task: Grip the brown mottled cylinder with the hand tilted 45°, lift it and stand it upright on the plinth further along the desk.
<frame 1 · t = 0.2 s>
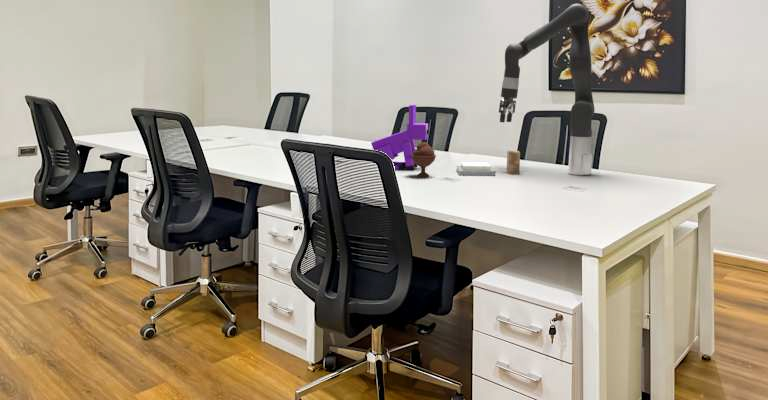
hand: (505, 122, 302), 22 cm above the table, tool pointing down, fingers open, 8 cm apart
ice cream bowl: (423, 176, 283), on the table
brown mottled cylinder: (512, 173, 292), on the table
plinth: (475, 172, 292), on the table
toy: (399, 168, 307), on the table
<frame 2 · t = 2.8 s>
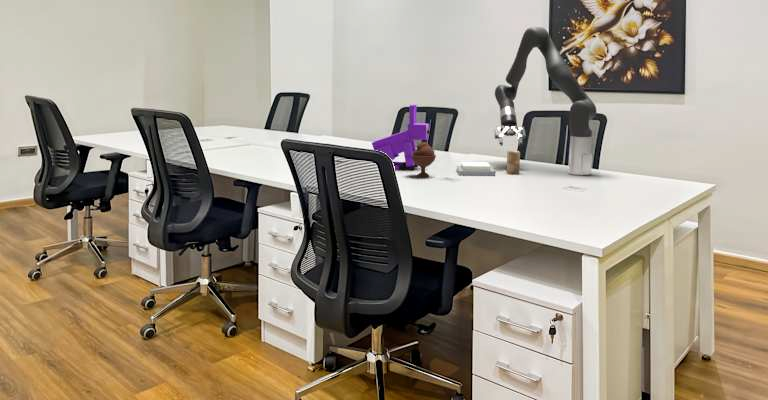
hand: (511, 144, 298), 12 cm above the table, tool tilted 45°, fingers open, 8 cm apart
nothing on the table moved.
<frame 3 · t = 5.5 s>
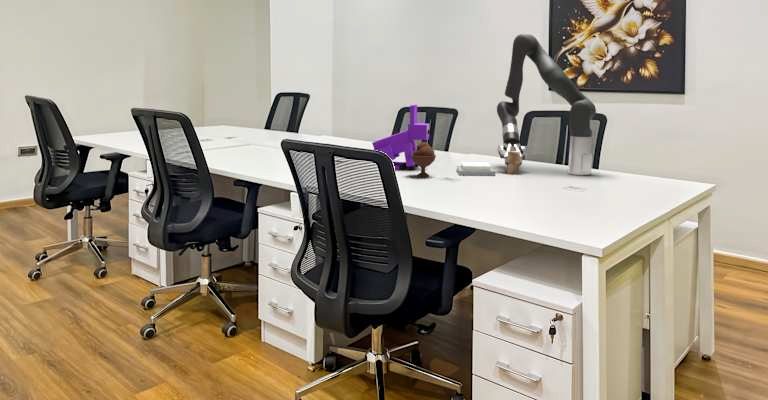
hand: (513, 164, 290), 4 cm above the table, tool tilted 45°, fingers closed on brown mottled cylinder, 5 cm apart
brown mottled cylinder: (512, 173, 292), on the table, touching gripper
everything else where it was.
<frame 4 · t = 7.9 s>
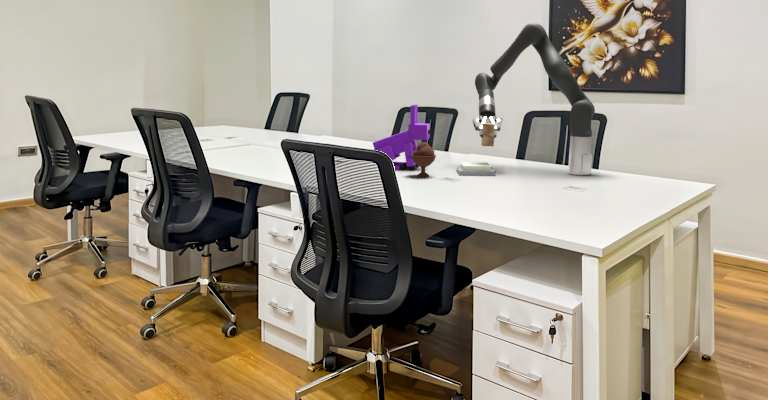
hand: (488, 136, 288), 17 cm above the table, tool tilted 45°, fingers closed on brown mottled cylinder, 5 cm apart
brown mottled cylinder: (487, 145, 291), point 13 cm above the table, touching gripper
everything else where it was.
when the fingers open (10 cm above the table, at t = 10.3 s): brown mottled cylinder drops 1 cm, resting on plinth.
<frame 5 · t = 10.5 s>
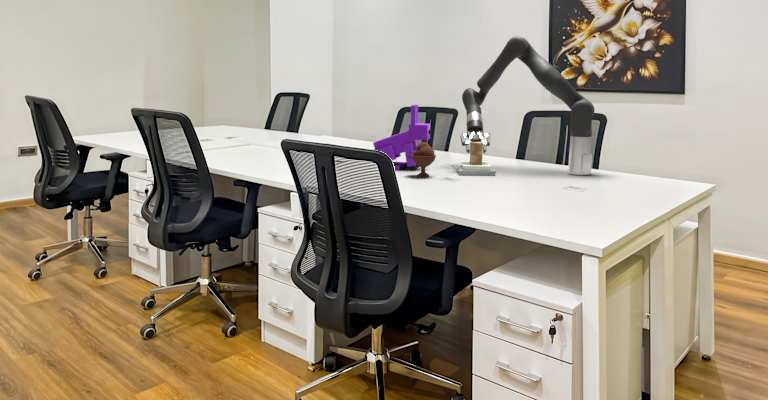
hand: (476, 151, 289), 10 cm above the table, tool tilted 45°, fingers open, 6 cm apart
brown mottled cylinder: (475, 164, 292), point 4 cm above the table, touching plinth
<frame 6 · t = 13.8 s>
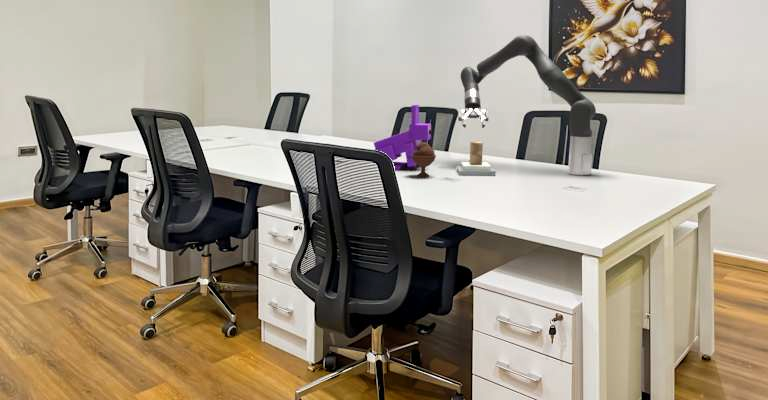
hand: (474, 126, 300), 20 cm above the table, tool tilted 45°, fingers open, 8 cm apart
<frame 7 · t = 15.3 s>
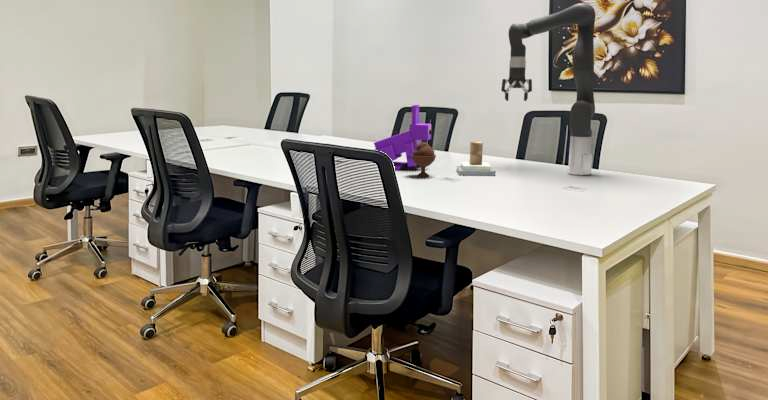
hand: (516, 100, 307), 32 cm above the table, tool pointing down, fingers open, 8 cm apart
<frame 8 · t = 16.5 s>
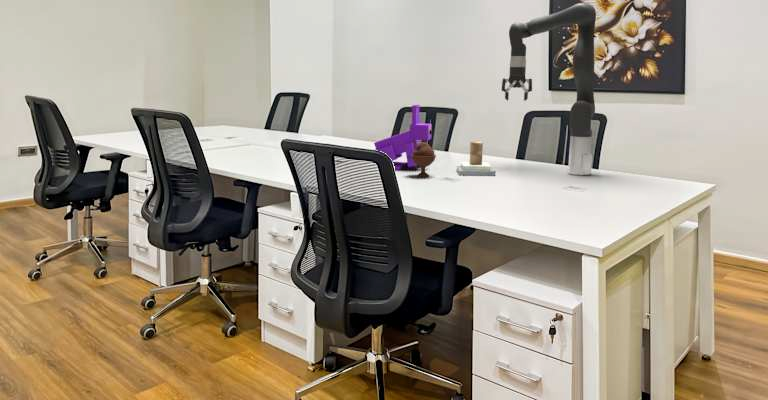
hand: (516, 100, 307), 32 cm above the table, tool pointing down, fingers open, 8 cm apart
at the end: brown mottled cylinder inside the target area on the plinth (0.1 cm from its centre), point 4.0 cm above the plinth's base; brown mottled cylinder tilted 0°; the gripper is holding nothing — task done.
